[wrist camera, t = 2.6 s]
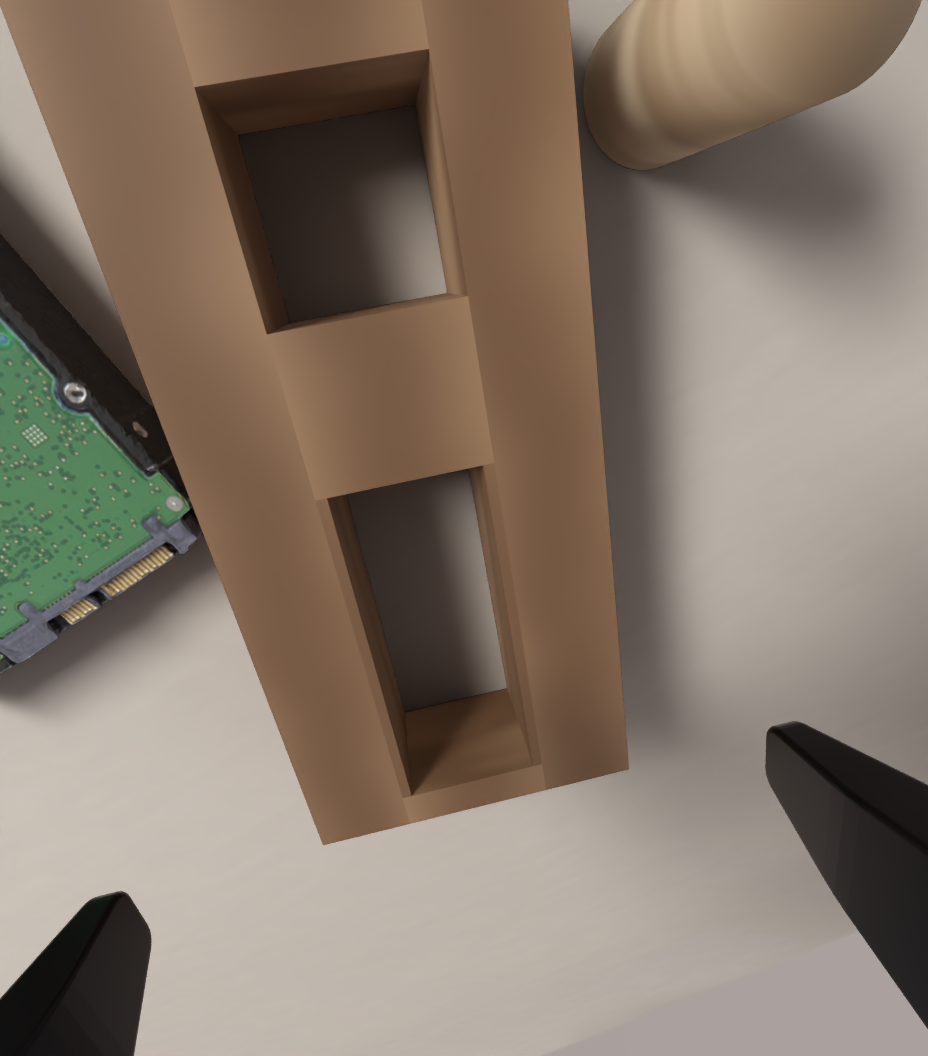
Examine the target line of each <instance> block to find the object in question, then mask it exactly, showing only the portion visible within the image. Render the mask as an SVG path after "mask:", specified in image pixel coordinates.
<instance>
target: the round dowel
mask: <svg viewBox="0 0 928 1056" xmlns="http://www.w3.org/2000/svg"><path fill="white" fill-rule="evenodd" d="M920 3H921V0H634V1H633V2H632V3H631V4H630V5H629V6H628V7H627V8H626V9H625V11H624V12H623V13H622V14H621V15H620V16H619V17H618V18H617V19H616V20H615V21H614V22H613V23H612V24H611V26H610V27H609V28H608V29H607V30H606V31H605V32H604V34H603V35H602V36H601V38H600V39H599V41H598V43H597V44H596V46H595V48H594V50H593V52H592V55H591V57H590V59H589V63H588V66H587V69H586V74H585V80H584V90H583V100H584V110H585V116H586V120H587V124H588V126H589V129H590V132H591V134H592V136H593V138H594V140H595V142H596V143H597V144H598V146H599V147H600V149H601V150H602V151H603V152H604V153H605V154H606V155H607V156H608V157H609V158H610V159H612V160H613V161H614V162H616V163H618V164H620V165H622V166H624V167H627V168H630V169H635V170H650V169H655V168H659V167H662V166H664V165H667V164H669V163H672V162H674V161H677V160H679V159H682V158H685V157H687V156H690V155H692V154H695V153H697V152H700V151H702V150H705V149H707V148H710V147H712V146H715V145H717V144H720V143H722V142H725V141H727V140H730V139H732V138H735V137H737V136H740V135H743V134H745V133H748V132H750V131H753V130H755V129H758V128H760V127H763V126H765V125H768V124H770V123H773V122H775V121H778V120H780V119H783V118H785V117H788V116H790V115H793V114H795V113H798V112H801V111H803V110H806V109H808V108H811V107H813V106H816V105H818V104H821V103H823V102H826V101H828V100H831V99H833V98H836V97H838V96H840V95H843V94H845V93H847V92H849V91H851V90H852V89H854V88H856V87H858V86H859V85H861V84H862V83H863V82H864V81H866V80H867V79H868V78H870V77H871V76H872V75H873V74H874V73H875V72H876V71H877V70H878V69H879V68H880V67H881V66H882V65H883V64H884V63H885V62H886V61H887V60H888V58H889V57H890V56H891V55H892V54H893V52H894V51H895V50H896V48H897V47H898V45H899V44H900V42H901V41H902V39H903V38H904V36H905V34H906V33H907V31H908V29H909V27H910V25H911V24H912V22H913V20H914V17H915V15H916V13H917V11H918V8H919V6H920Z"/></svg>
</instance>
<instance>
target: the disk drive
mask: <svg viewBox="0 0 928 1056" xmlns="http://www.w3.org/2000/svg"><path fill="white" fill-rule="evenodd" d="M203 535H204V534H203V532H202V529H201V527H200V524H199V521H198V519H197V516H196V514H195V511H194V508H193V506H192V503H191V501H190V498H189V495H188V493H187V490H186V488H185V485H184V482H183V480H182V477H181V475H180V472H179V469H178V467H177V464H176V462H175V459H174V456H173V454H172V451H171V449H170V446H169V443H168V441H167V438H166V436H165V433H164V430H163V428H162V425H161V423H160V420H159V417H158V415H157V412H156V410H155V408H154V407H152V406H151V405H149V404H148V403H147V402H146V401H145V400H144V399H143V398H142V397H141V395H140V393H139V392H138V391H137V390H136V389H135V388H134V387H133V386H132V385H131V384H130V382H129V381H128V380H127V379H126V378H125V377H124V376H123V374H122V373H121V372H120V371H119V370H118V368H117V367H116V366H115V365H114V364H113V363H112V362H111V360H110V359H109V358H108V357H107V356H105V354H104V353H103V352H102V351H101V350H100V348H99V347H98V346H97V345H96V344H95V343H94V341H93V340H92V338H91V337H90V336H89V335H88V334H87V333H86V332H85V331H84V330H83V329H82V328H81V327H80V325H79V324H78V323H77V322H76V320H75V319H74V318H73V317H72V316H71V314H70V313H69V312H68V311H67V310H66V309H65V308H64V307H63V306H62V305H61V304H60V303H59V301H58V300H57V299H56V297H55V296H54V295H53V294H52V293H51V292H50V291H49V290H48V289H47V287H46V286H45V285H44V284H43V282H42V281H41V280H40V279H39V278H38V277H37V275H36V274H35V273H34V272H33V270H32V269H31V268H30V267H29V266H28V265H27V264H26V263H25V262H24V261H23V260H22V258H21V257H20V256H19V255H18V254H17V253H16V252H15V250H14V249H13V248H12V247H11V246H10V245H9V243H8V242H7V241H6V240H5V239H4V237H3V236H2V235H1V234H0V675H1V674H2V673H4V672H5V671H7V670H9V669H10V668H12V667H13V666H14V665H15V664H16V663H21V662H23V661H25V660H26V659H28V658H30V657H31V656H33V655H34V654H35V653H37V652H38V651H40V650H41V649H42V648H44V647H46V646H47V645H49V644H50V643H52V642H53V641H55V640H56V639H57V638H58V637H59V634H60V633H62V632H63V631H64V630H65V629H66V628H68V627H69V626H70V625H72V624H73V625H74V624H76V623H78V622H80V621H81V620H83V619H84V618H86V617H87V616H88V615H89V614H91V613H93V612H95V611H96V610H97V609H99V608H101V607H102V605H103V603H104V602H106V601H107V600H109V599H110V600H113V599H114V598H116V597H117V596H119V595H120V594H121V593H123V592H124V591H126V590H127V589H129V588H130V587H132V586H133V585H135V584H136V583H138V582H139V581H140V580H142V579H143V578H145V577H146V576H148V575H149V574H151V573H152V572H154V571H155V570H157V569H159V568H160V567H162V566H163V565H165V564H166V563H168V562H169V561H171V560H172V559H174V557H175V555H176V554H177V553H180V554H185V553H186V552H188V550H189V548H190V547H191V545H192V544H193V543H194V542H196V541H197V540H198V539H199V537H200V536H203Z"/></svg>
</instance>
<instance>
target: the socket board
mask: <svg viewBox="0 0 928 1056" xmlns="http://www.w3.org/2000/svg"><path fill="white" fill-rule="evenodd" d="M0 7H1V9H2V12H3V15H4V17H5V20H6V22H7V25H8V28H9V30H10V33H11V35H12V38H13V41H14V43H15V46H16V48H17V51H18V54H19V56H20V59H21V61H22V64H23V67H24V69H25V72H26V74H27V77H28V80H29V82H30V85H31V87H32V90H33V93H34V95H35V98H36V100H37V103H38V106H39V108H40V111H41V113H42V116H43V119H44V121H45V124H46V126H47V129H48V132H49V134H50V137H51V139H52V142H53V145H54V147H55V150H56V152H57V155H58V158H59V160H60V163H61V165H62V168H63V171H64V173H65V176H66V178H67V181H68V184H69V186H70V189H71V191H72V194H73V197H74V199H75V202H76V204H77V207H78V210H79V212H80V215H81V217H82V220H83V223H84V225H85V228H86V230H87V233H88V236H89V238H90V241H91V243H92V246H93V249H94V251H95V254H96V256H97V259H98V261H99V264H100V267H101V269H102V272H103V274H104V277H105V280H106V282H107V285H108V287H109V290H110V293H111V295H112V298H113V300H114V303H115V306H116V308H117V311H118V313H119V316H120V319H121V321H122V324H123V326H124V329H125V332H126V334H127V337H128V339H129V342H130V345H131V347H132V350H133V352H134V355H135V358H136V360H137V363H138V365H139V368H140V371H141V373H142V376H143V378H144V381H145V384H146V386H147V389H148V391H149V394H150V397H151V399H152V402H153V404H154V407H155V410H156V412H157V415H158V417H159V420H160V423H161V425H162V428H163V430H164V433H165V436H166V438H167V441H168V443H169V446H170V449H171V451H172V454H173V456H174V459H175V462H176V464H177V467H178V469H179V472H180V475H181V477H182V480H183V482H184V485H185V488H186V490H187V493H188V495H189V498H190V501H191V503H192V506H193V508H194V511H195V514H196V516H197V519H198V521H199V524H200V527H201V529H202V532H203V534H204V537H205V540H206V542H207V545H208V547H209V550H210V553H211V555H212V558H213V560H214V563H215V566H216V568H217V571H218V573H219V576H220V579H221V581H222V584H223V586H224V589H225V592H226V594H227V597H228V599H229V602H230V605H231V607H232V610H233V612H234V615H235V618H236V620H237V623H238V625H239V628H240V630H241V633H242V636H243V638H244V641H245V643H246V646H247V649H248V651H249V654H250V656H251V659H252V662H253V664H254V667H255V669H256V672H257V675H258V677H259V680H260V682H261V685H262V688H263V690H264V693H265V695H266V698H267V701H268V703H269V706H270V708H271V711H272V714H273V716H274V719H275V721H276V724H277V727H278V729H279V732H280V734H281V737H282V740H283V742H284V745H285V747H286V750H287V753H288V755H289V758H290V760H291V763H292V766H293V768H294V771H295V773H296V776H297V779H298V781H299V784H300V786H301V789H302V792H303V794H304V797H305V799H306V802H307V805H308V807H309V810H310V812H311V815H312V818H313V820H314V823H315V825H316V828H317V831H318V833H319V836H320V838H321V841H322V844H323V845H326V844H330V843H334V842H338V841H342V840H346V839H350V838H355V837H359V836H363V835H367V834H371V833H375V832H379V831H383V830H387V829H391V828H395V827H399V826H403V825H407V824H411V823H415V822H419V821H423V820H427V819H431V818H435V817H439V816H443V815H447V814H451V813H455V812H459V811H463V810H467V809H471V808H475V807H479V806H483V805H487V804H491V803H495V802H499V801H503V800H507V799H511V798H515V797H519V796H523V795H527V794H531V793H535V792H539V791H543V790H547V789H551V788H555V787H560V786H564V785H568V784H572V783H576V782H580V781H584V780H588V779H592V778H596V777H600V776H604V775H608V774H612V773H616V772H620V771H624V770H628V769H629V766H628V753H627V741H626V728H625V715H624V703H623V690H622V678H621V665H620V652H619V640H618V627H617V614H616V602H615V589H614V576H613V564H612V551H611V539H610V526H609V513H608V501H607V488H606V475H605V463H604V450H603V437H602V425H601V412H600V400H599V387H598V374H597V362H596V349H595V336H594V324H593V311H592V298H591V286H590V273H589V261H588V248H587V235H586V223H585V210H584V197H583V185H582V172H581V160H580V147H579V134H578V122H577V109H576V96H575V84H574V71H573V58H572V46H571V33H570V21H569V8H568V0H0ZM411 105H415V106H416V112H417V118H418V124H419V130H420V136H421V141H422V147H423V153H424V159H425V165H426V171H427V177H428V182H429V188H430V194H431V200H432V206H433V212H434V218H435V224H436V229H437V235H438V241H439V247H440V253H441V259H442V265H443V270H444V276H445V282H446V288H447V293H445V294H440V295H434V296H429V297H424V298H419V299H413V300H408V301H403V302H398V303H392V304H387V305H382V306H377V307H372V308H366V309H361V310H356V311H351V312H345V313H340V314H335V315H330V316H324V317H319V318H314V319H309V320H303V321H298V322H293V323H289V319H288V316H287V312H286V309H285V305H284V301H283V298H282V294H281V290H280V287H279V283H278V280H277V276H276V272H275V269H274V265H273V262H272V258H271V254H270V251H269V247H268V243H267V240H266V236H265V233H264V229H263V225H262V222H261V218H260V214H259V211H258V207H257V204H256V200H255V196H254V193H253V189H252V186H251V182H250V178H249V175H248V171H247V167H246V164H245V160H244V157H243V153H242V149H241V146H240V142H239V138H238V135H239V134H245V133H251V132H257V131H263V130H269V129H275V128H281V127H287V126H293V125H298V124H304V123H310V122H316V121H322V120H328V119H334V118H340V117H346V116H352V115H357V114H363V113H369V112H375V111H381V110H387V109H393V108H399V107H405V106H411ZM463 469H469V475H470V480H471V486H472V492H473V497H474V503H475V509H476V514H477V520H478V526H479V531H480V537H481V543H482V548H483V554H484V560H485V565H486V571H487V577H488V582H489V588H490V593H491V599H492V605H493V610H494V616H495V622H496V627H497V633H498V639H499V644H500V650H501V656H502V661H503V667H504V673H505V678H506V684H507V689H503V690H499V691H495V692H491V693H486V694H482V695H478V696H474V697H469V698H465V699H461V700H457V701H453V702H448V703H444V704H440V705H436V706H431V707H427V708H423V709H419V710H415V711H410V712H406V713H405V711H404V707H403V703H402V700H401V696H400V692H399V688H398V685H397V681H396V677H395V674H394V670H393V666H392V662H391V659H390V655H389V651H388V648H387V644H386V640H385V636H384V633H383V629H382V625H381V622H380V618H379V614H378V610H377V607H376V603H375V599H374V596H373V592H372V588H371V585H370V581H369V577H368V573H367V570H366V566H365V562H364V559H363V555H362V551H361V547H360V544H359V540H358V536H357V533H356V529H355V525H354V521H353V518H352V514H351V510H350V507H349V503H348V499H347V495H346V494H350V493H354V492H359V491H364V490H369V489H373V488H378V487H383V486H388V485H392V484H397V483H402V482H407V481H411V480H416V479H421V478H425V477H430V476H435V475H440V474H444V473H449V472H454V471H459V470H463Z"/></svg>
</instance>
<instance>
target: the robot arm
mask: <svg viewBox="0 0 928 1056" xmlns="http://www.w3.org/2000/svg"><path fill="white" fill-rule="evenodd" d="M765 769H766V775H767V779H768V781H769V784H770V786H771V788H772V790H773V791H774V793H775V795H776V797H777V798H778V800H779V802H780V803H781V805H782V807H783V809H784V810H785V812H786V814H787V816H788V817H789V819H790V821H791V823H792V824H793V826H794V828H795V829H796V831H797V833H798V835H799V836H800V838H801V840H802V842H803V843H804V845H805V847H806V849H807V850H808V852H809V854H810V855H811V857H812V859H813V861H814V862H815V864H816V866H817V868H818V869H819V871H820V873H821V875H822V876H823V878H824V880H825V881H826V883H827V885H828V886H829V888H830V889H831V891H832V893H833V894H834V896H835V897H836V899H837V900H838V902H839V903H840V905H841V906H842V908H843V909H844V911H845V912H846V914H847V915H848V917H849V918H850V919H851V921H852V922H853V924H854V925H855V926H856V928H857V929H858V931H859V932H860V934H861V935H862V936H863V938H864V939H865V941H866V942H867V943H868V945H869V946H870V948H871V949H872V950H873V952H874V953H875V955H876V956H877V958H878V959H879V961H880V962H881V963H882V965H883V966H884V968H885V969H886V970H887V972H888V973H889V974H890V976H891V978H892V979H893V980H894V982H895V983H896V985H897V986H898V987H899V989H900V990H901V992H902V993H903V995H904V996H905V997H906V999H907V1000H908V1002H909V1003H910V1004H911V1006H912V1007H913V1009H914V1010H915V1012H916V1013H917V1014H918V1016H919V1017H920V1018H921V1020H922V1021H923V1023H924V1024H925V1026H926V1027H927V1029H928V785H927V784H925V783H923V782H921V781H919V780H917V779H915V778H913V777H911V776H909V775H907V774H905V773H903V772H901V771H899V770H897V769H895V768H893V767H891V766H889V765H887V764H885V763H882V762H880V761H878V760H876V759H874V758H872V757H870V756H868V755H866V754H864V753H862V752H860V751H858V750H856V749H854V748H852V747H850V746H848V745H846V744H844V743H842V742H840V741H838V740H836V739H834V738H832V737H830V736H828V735H826V734H824V733H822V732H820V731H818V730H816V729H814V728H812V727H810V726H808V725H806V724H804V723H801V722H797V721H792V722H788V723H784V724H780V725H776V726H772V727H770V728H769V730H768V731H767V737H766V765H765ZM150 952H151V933H150V929H149V927H148V925H147V923H146V921H145V920H144V918H143V917H142V915H141V913H140V912H139V910H138V909H137V907H136V905H135V904H134V902H133V901H132V899H131V898H130V896H129V895H128V894H127V893H125V892H123V891H118V892H114V893H110V894H106V895H102V896H98V897H95V898H93V899H91V900H89V901H88V902H87V903H86V904H85V905H84V906H83V907H82V908H81V909H80V910H79V911H78V912H77V913H76V915H75V916H74V917H73V918H72V919H71V920H70V921H69V922H68V923H67V925H66V926H65V927H64V928H63V929H62V930H61V931H60V932H59V934H58V935H57V936H56V937H55V938H54V939H53V940H52V941H51V942H50V944H49V945H48V946H47V947H46V948H45V949H44V950H43V951H42V952H41V954H40V955H39V956H38V957H37V958H36V959H35V960H34V961H33V962H32V964H31V965H30V966H29V967H28V968H27V969H26V970H25V971H24V973H23V974H22V975H21V976H20V977H19V978H18V979H17V980H16V981H15V983H14V984H13V985H12V986H11V987H10V988H9V989H8V990H7V991H6V993H5V994H4V995H3V996H2V997H1V998H0V1056H134V1052H135V1045H136V1039H137V1033H138V1027H139V1020H140V1014H141V1008H142V1002H143V995H144V989H145V983H146V977H147V970H148V964H149V958H150Z"/></svg>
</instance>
